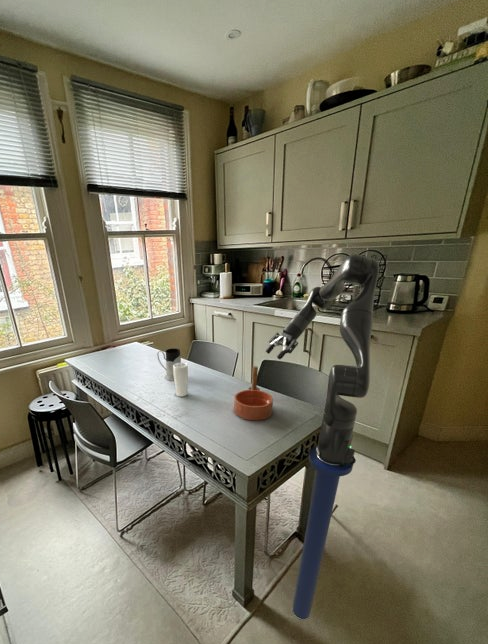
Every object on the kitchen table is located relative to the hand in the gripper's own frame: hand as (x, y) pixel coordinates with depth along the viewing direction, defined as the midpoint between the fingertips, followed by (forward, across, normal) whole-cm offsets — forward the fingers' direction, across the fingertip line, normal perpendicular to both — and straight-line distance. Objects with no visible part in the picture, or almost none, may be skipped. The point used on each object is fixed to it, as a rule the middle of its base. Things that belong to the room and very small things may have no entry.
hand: (272, 355), depth 142 cm
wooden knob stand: (+19, 0, -7) cm, 20 cm away
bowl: (+25, -13, -1) cm, 28 cm away
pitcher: (+39, +38, +13) cm, 56 cm away
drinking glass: (+41, +15, +15) cm, 46 cm away
